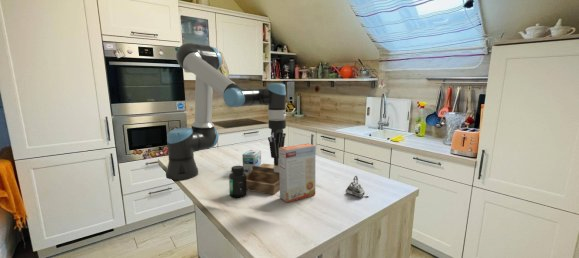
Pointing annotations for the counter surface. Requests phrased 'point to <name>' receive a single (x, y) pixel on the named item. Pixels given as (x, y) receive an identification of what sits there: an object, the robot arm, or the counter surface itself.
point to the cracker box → (297, 172)
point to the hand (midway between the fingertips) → (277, 171)
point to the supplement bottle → (238, 182)
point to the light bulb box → (251, 160)
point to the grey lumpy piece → (355, 188)
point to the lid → (264, 169)
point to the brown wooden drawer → (263, 182)
